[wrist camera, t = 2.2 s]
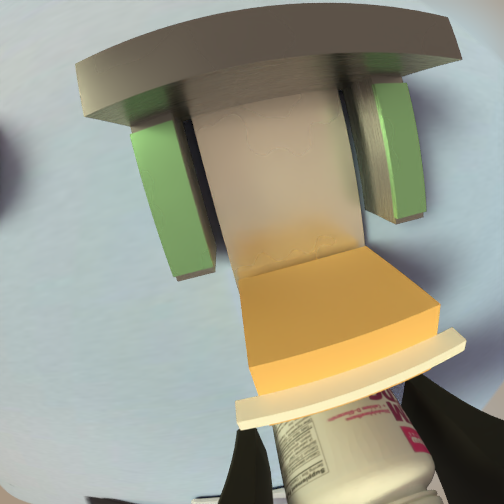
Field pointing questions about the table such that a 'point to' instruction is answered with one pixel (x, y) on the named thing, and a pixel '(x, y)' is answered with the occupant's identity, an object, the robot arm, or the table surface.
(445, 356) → the orange block with lip
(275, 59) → the grey drawer frame
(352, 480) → the pill bottle
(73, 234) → the table surface
